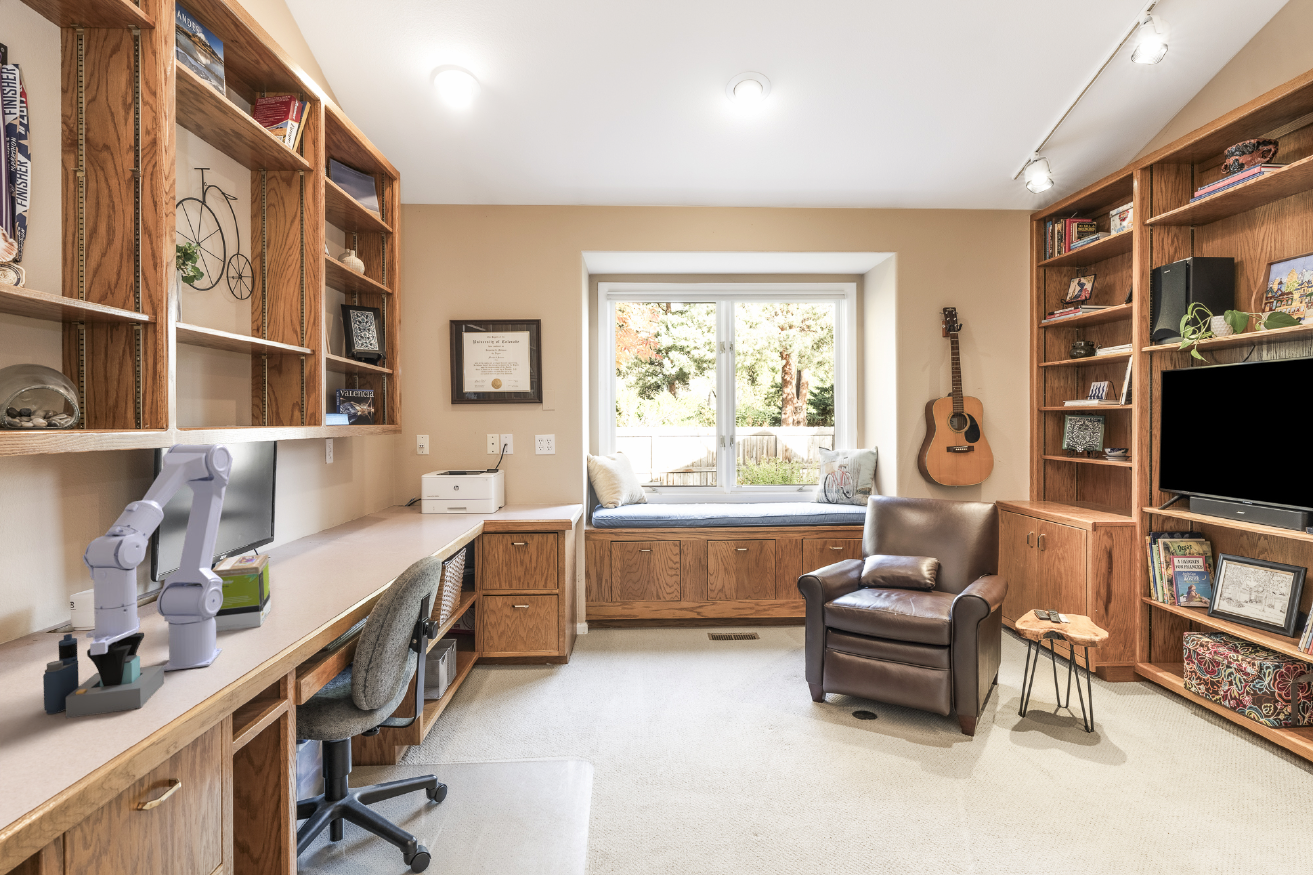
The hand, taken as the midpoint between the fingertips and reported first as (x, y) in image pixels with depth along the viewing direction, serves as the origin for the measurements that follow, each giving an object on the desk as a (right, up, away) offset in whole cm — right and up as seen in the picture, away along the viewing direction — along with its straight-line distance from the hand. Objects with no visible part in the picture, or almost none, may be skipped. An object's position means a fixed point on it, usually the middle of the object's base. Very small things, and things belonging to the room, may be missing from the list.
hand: (117, 681), depth 112 cm
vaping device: (-7, -3, -3) cm, 8 cm away
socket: (0, -3, 0) cm, 3 cm away
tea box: (-7, -2, +45) cm, 45 cm away
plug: (0, -2, 0) cm, 2 cm away
